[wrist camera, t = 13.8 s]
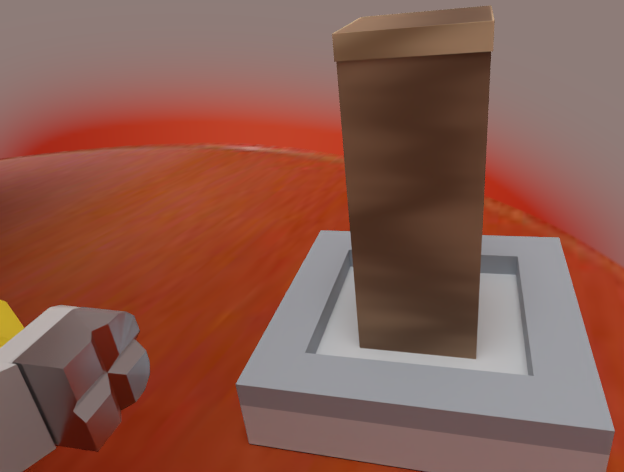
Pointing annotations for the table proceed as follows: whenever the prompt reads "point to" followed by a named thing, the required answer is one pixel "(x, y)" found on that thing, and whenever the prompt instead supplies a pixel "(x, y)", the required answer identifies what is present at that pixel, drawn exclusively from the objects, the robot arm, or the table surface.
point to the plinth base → (434, 374)
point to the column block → (416, 174)
